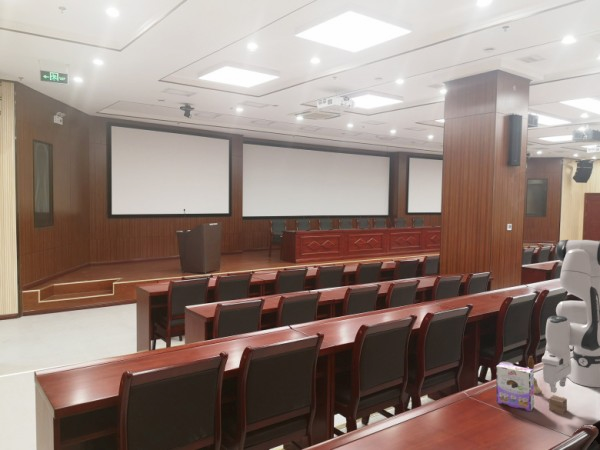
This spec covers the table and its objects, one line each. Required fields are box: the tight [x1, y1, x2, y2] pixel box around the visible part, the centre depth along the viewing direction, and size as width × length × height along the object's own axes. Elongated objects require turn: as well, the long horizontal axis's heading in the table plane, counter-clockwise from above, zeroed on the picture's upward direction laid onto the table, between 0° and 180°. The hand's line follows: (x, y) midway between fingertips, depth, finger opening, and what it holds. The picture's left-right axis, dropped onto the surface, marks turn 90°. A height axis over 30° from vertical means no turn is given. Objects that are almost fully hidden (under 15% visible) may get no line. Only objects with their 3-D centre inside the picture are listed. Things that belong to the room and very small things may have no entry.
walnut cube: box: [548, 394, 568, 415], centre depth 180 cm, size 5×5×5 cm
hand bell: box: [527, 355, 542, 395], centre depth 201 cm, size 8×8×16 cm
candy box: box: [495, 362, 535, 412], centre depth 186 cm, size 14×6×16 cm, turn 47°
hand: (558, 389), depth 180 cm, fingers open, 8 cm apart
